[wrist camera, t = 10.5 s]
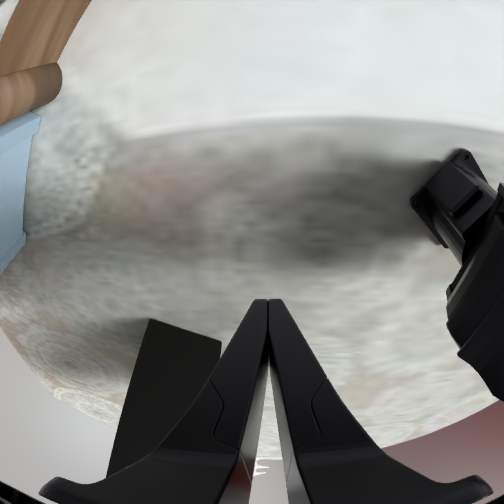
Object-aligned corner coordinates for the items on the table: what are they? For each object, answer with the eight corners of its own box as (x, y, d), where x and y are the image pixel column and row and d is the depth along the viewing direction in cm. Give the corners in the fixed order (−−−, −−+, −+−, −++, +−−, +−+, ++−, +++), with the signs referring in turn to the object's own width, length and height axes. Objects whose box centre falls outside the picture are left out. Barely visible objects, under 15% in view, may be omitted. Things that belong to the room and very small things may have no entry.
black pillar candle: (201, 373, 36) (175, 595, 14) (139, 354, 34) (90, 578, 12) (223, 340, 32) (196, 615, 9) (149, 316, 30) (86, 596, 7)
